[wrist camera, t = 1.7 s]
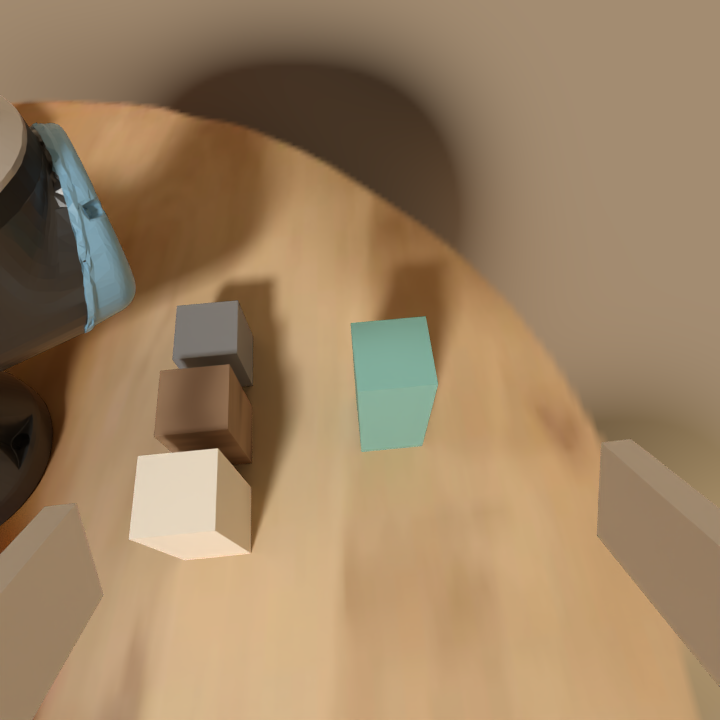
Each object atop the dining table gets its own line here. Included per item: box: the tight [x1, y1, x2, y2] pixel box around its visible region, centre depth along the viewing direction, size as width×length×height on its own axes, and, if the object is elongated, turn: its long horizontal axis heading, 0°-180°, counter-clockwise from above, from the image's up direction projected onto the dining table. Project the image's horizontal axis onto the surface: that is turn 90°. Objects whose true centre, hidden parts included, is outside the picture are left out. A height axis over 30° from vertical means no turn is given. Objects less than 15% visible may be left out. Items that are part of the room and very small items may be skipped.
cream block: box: [129, 448, 251, 560], centre depth 36 cm, size 5×5×10 cm
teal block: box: [351, 316, 438, 452], centre depth 38 cm, size 5×5×12 cm
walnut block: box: [154, 364, 252, 465], centre depth 40 cm, size 5×5×8 cm
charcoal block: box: [172, 300, 253, 387], centre depth 44 cm, size 5×5×6 cm
